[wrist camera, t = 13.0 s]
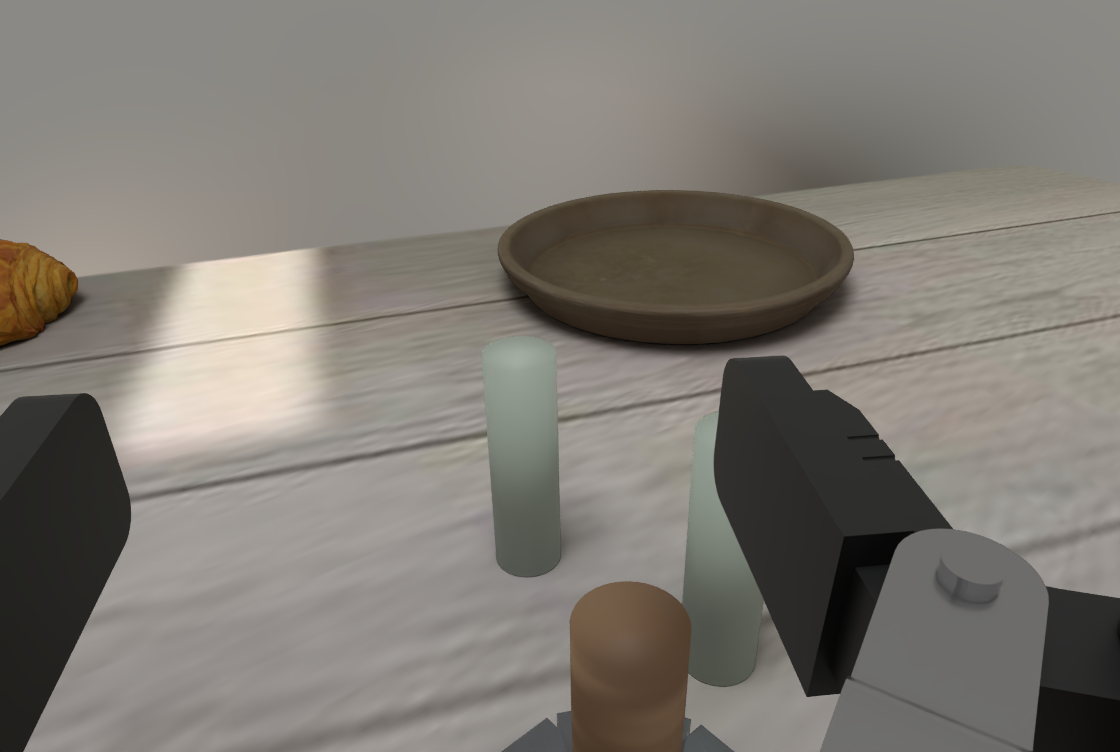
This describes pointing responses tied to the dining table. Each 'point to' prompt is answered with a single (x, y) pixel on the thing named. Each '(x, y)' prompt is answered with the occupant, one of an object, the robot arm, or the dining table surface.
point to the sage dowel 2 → (717, 578)
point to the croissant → (31, 290)
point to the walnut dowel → (628, 669)
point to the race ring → (552, 746)
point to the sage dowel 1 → (523, 452)
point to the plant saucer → (675, 264)
